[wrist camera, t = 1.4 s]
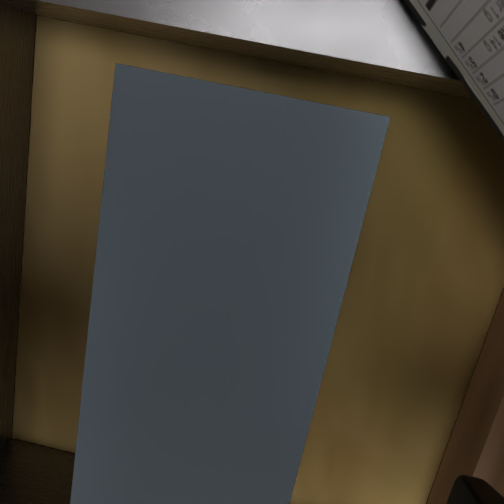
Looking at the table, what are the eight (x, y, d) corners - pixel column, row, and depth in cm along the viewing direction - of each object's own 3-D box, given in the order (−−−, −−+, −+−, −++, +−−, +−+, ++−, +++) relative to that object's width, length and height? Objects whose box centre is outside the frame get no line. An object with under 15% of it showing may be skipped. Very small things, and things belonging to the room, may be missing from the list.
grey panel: (335, 121, 14) (389, 116, 5) (256, 465, 17) (206, 821, 8) (233, 100, 14) (116, 63, 5) (174, 446, 17) (41, 776, 8)
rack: (532, 37, 13) (675, -16, 8) (360, 563, 17) (382, 730, 13) (-12, -63, 13) (-191, -169, 8) (-29, 468, 18) (-148, 592, 13)
